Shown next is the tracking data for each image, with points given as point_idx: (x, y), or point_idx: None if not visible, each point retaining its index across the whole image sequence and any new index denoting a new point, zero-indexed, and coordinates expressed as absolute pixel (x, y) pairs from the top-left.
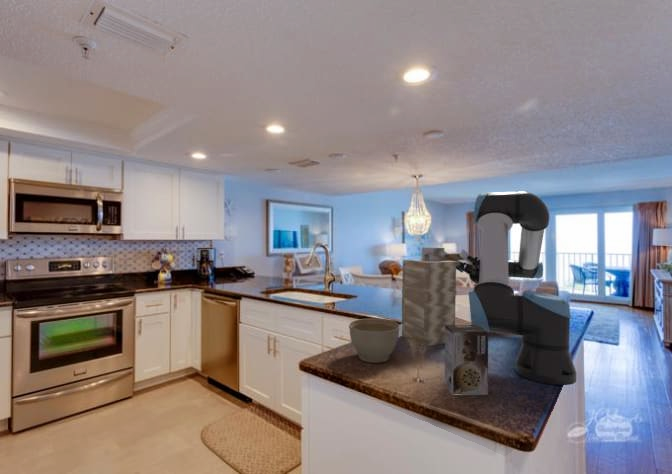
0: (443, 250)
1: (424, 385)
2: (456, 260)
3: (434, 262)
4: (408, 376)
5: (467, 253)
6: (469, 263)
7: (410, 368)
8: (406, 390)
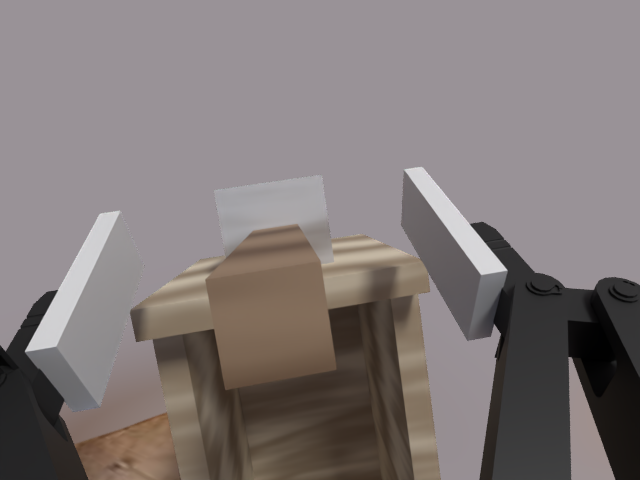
0: (218, 207)
1: (100, 465)
2: (503, 386)
3: (192, 265)
4: (145, 456)
5: (80, 260)
6: (98, 399)
7: (167, 470)
8: (116, 440)
